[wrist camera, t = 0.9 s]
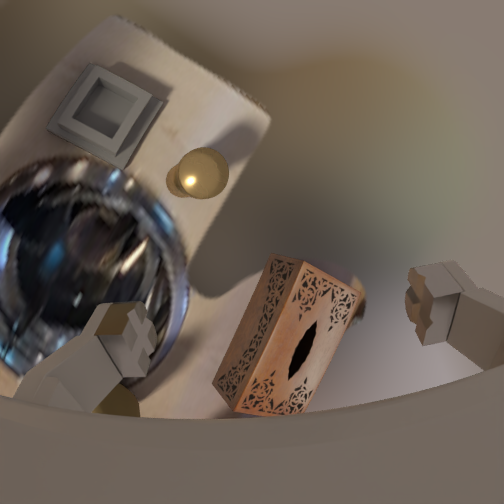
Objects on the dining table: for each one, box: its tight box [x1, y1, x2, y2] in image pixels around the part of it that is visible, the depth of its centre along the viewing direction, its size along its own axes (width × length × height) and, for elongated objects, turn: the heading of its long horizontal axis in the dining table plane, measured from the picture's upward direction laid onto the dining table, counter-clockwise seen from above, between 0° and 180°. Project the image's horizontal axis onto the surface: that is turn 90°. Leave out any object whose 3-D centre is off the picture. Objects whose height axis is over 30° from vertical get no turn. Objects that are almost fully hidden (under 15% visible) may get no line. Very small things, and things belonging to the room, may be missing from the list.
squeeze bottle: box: [92, 383, 140, 417], centre depth 39 cm, size 8×8×18 cm
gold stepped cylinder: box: [166, 147, 229, 199], centre depth 43 cm, size 6×6×11 cm
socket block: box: [46, 63, 164, 170], centre depth 40 cm, size 14×12×4 cm
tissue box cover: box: [212, 253, 361, 417], centre depth 55 cm, size 26×14×10 cm, turn 152°
